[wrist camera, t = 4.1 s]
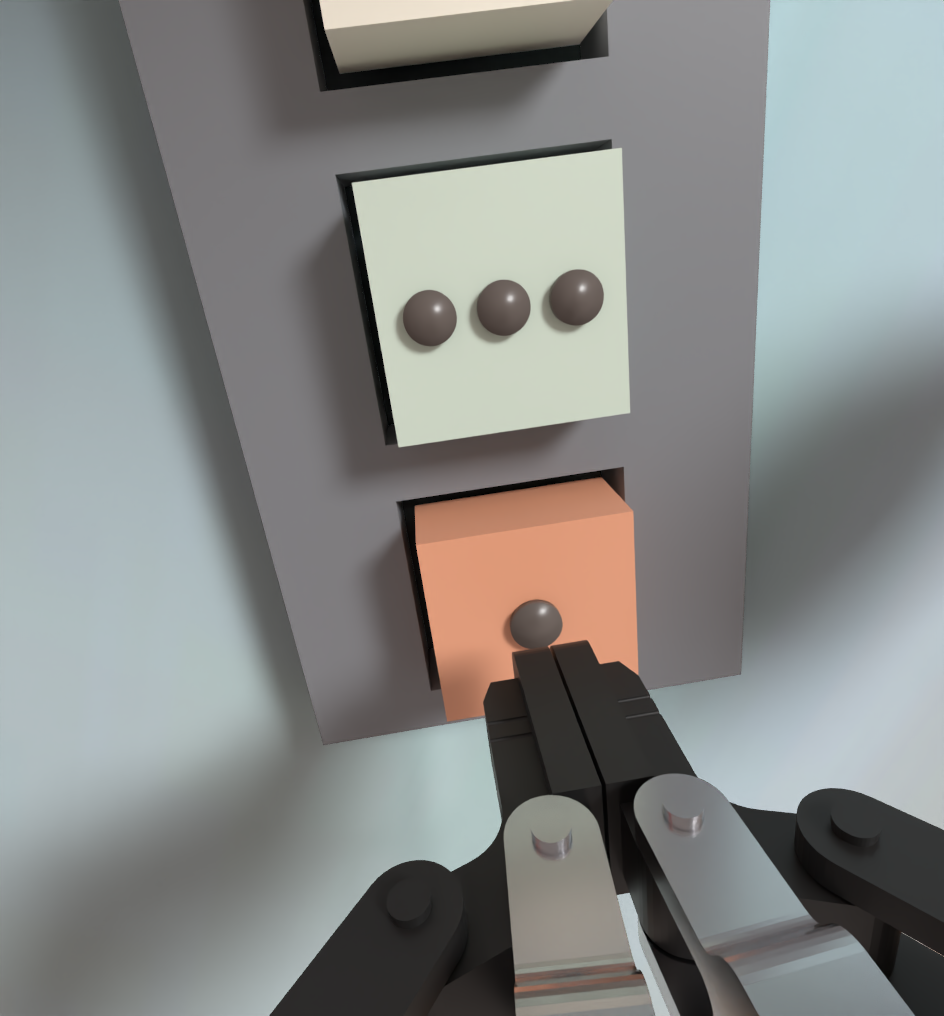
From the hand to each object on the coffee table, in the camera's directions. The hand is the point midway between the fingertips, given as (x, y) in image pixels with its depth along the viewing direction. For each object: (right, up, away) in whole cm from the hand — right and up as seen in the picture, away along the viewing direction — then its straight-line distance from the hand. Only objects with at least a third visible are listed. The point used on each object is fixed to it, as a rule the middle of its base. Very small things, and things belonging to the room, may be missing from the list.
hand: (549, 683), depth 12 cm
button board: (-1, +9, +3) cm, 9 cm away
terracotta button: (0, +2, +4) cm, 5 cm away
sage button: (-1, +8, +2) cm, 8 cm away
